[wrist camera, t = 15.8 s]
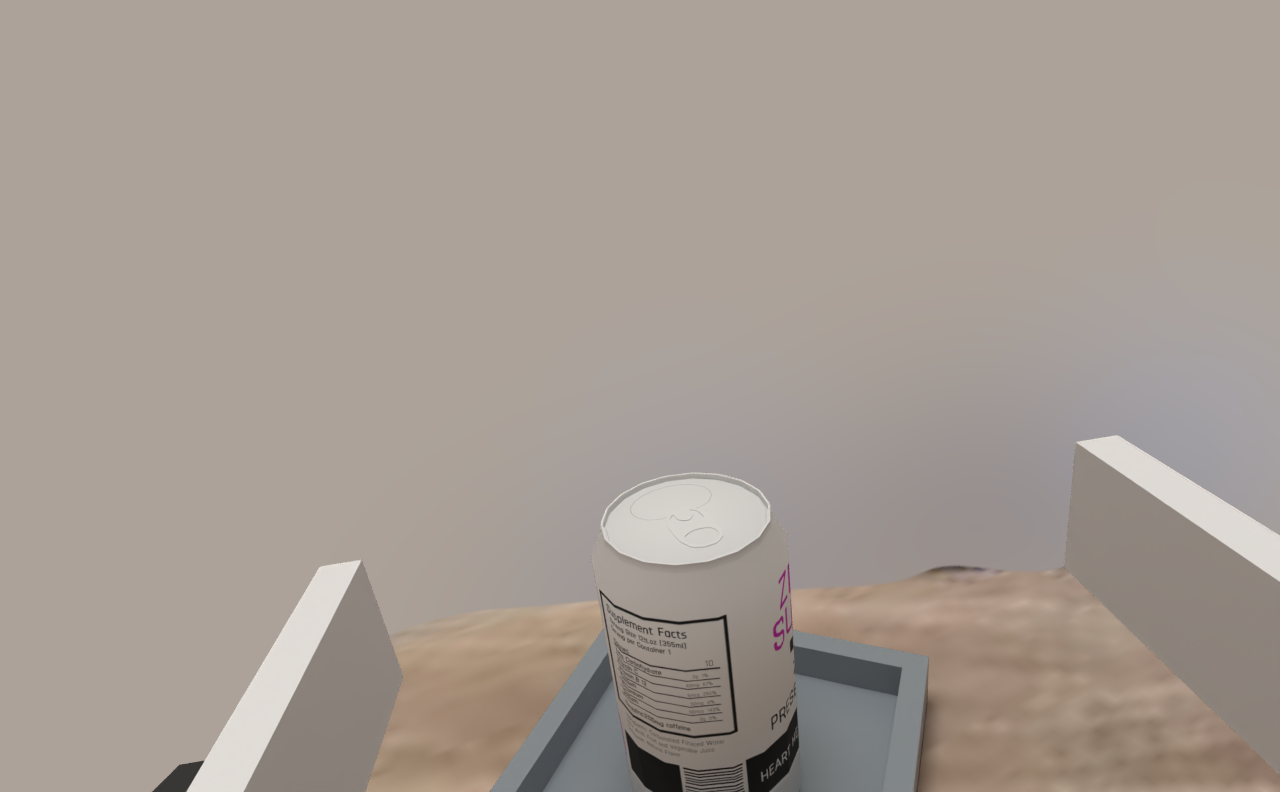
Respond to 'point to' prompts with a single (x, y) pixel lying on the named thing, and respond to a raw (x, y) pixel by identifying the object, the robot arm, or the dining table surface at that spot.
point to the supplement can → (700, 635)
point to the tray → (826, 708)
